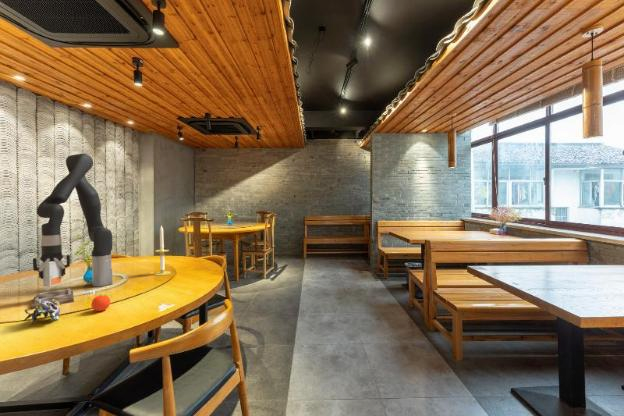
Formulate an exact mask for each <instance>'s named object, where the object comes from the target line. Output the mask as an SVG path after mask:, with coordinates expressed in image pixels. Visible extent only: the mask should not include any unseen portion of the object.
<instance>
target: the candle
mask: <svg viewBox="0 0 624 416" xmlns="http://www.w3.org/2000/svg"><path fill="white" fill-rule="evenodd" d="M164 240H165V239H164V228H163V226H162V225H161V226H160V228H159V249H156V250H154V252H155V253H159V260H160V262H159V263H160V267H159V269H160V271H158V272H154V274H153V275H154V276H165V275H169V274H170V275H171V273H172V271H168V270H165V268H166V267H165V252H166V253H167V252H169V251H170V249H164V248H165V245H164Z"/></svg>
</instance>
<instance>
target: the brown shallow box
mask: <svg viewBox="0 0 624 416" xmlns="http://www.w3.org/2000/svg"><path fill="white" fill-rule="evenodd" d="M53 299H54V300H55V299H57V301H58V302H60V303H61V305H63V304H64V305H65V304H68V303H69V304H70V303H73V302H75V297H74V290H71V288H65V289H58V290H51V291H46V292H40V293H36V296H33V298H32V302H31V305H30V310H35V307H37V308H39V307H40V305H39V304H38V303H37V301H36V300H41V301H42V300H45V301H50V302H52V300H53ZM52 303H53V302H52ZM53 304H54V303H53ZM55 305H57V306H59V305H58V304H55Z"/></svg>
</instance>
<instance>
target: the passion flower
mask: <svg viewBox="0 0 624 416" xmlns="http://www.w3.org/2000/svg"><path fill="white" fill-rule="evenodd" d="M36 301H37V303H38V304H39V305H40V307H39V308H37V307H35V309H33V312H31V313H30V312H28V309H26V308H25V309H24V310H23V311H24V312H25V314H28V315H27V316H26V317H25V318H24V319H23V322H25V321H27V320H29V318H31V320H30V326H32V324H33V322H35V321H36V320H37V318H38V317H41V316H42V315H43V316H44V318H47V317H49V318H50V319H51V320H52V321H59V320H60V318H59V315H60V314H61V308H60V307H59V306H62V304H61V303H60V302H58V301H57V299H55V300H54V299H53V300H52V302H53V303H54V304H53V303H52V302H50V301H45V300H42V301H41V300H36ZM55 304H58V305H55Z"/></svg>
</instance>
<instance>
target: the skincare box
mask: <svg viewBox="0 0 624 416" xmlns="http://www.w3.org/2000/svg"><path fill="white" fill-rule="evenodd" d="M60 262H61V263H63V259H61V260H60ZM42 264H44V262H42ZM44 265H45V264H44ZM42 271H43V279H42V287H45V288H46V287H52V286H57V285H62V284H63V276H62V267H61V266H60V265H59V264H58V263H57V262H56V261H51V262H46V266H45V267H44V268H43V270H42Z"/></svg>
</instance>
